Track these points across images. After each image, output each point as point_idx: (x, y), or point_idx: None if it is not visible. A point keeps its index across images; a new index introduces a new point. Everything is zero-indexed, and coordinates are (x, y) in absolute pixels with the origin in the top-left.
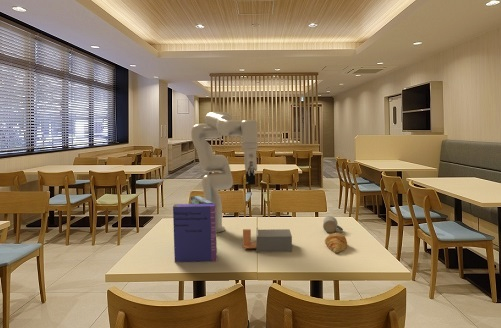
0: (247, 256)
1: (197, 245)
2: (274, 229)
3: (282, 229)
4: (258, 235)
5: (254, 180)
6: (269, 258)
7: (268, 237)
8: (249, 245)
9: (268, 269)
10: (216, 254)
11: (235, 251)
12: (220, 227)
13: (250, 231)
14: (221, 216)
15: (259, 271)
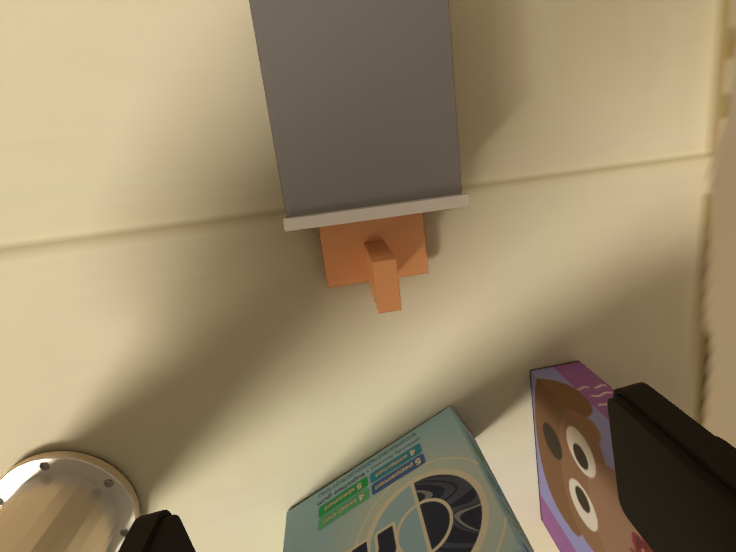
0: (512, 232)
1: None
2: (266, 91)
3: (256, 23)
4: (435, 195)
5: (704, 443)
6: (539, 113)
7: (455, 123)
8: (398, 245)
9: (686, 104)
10: (554, 376)
11: (440, 305)
12: (69, 481)
13: (394, 258)
14: (4, 532)
15: (706, 146)
